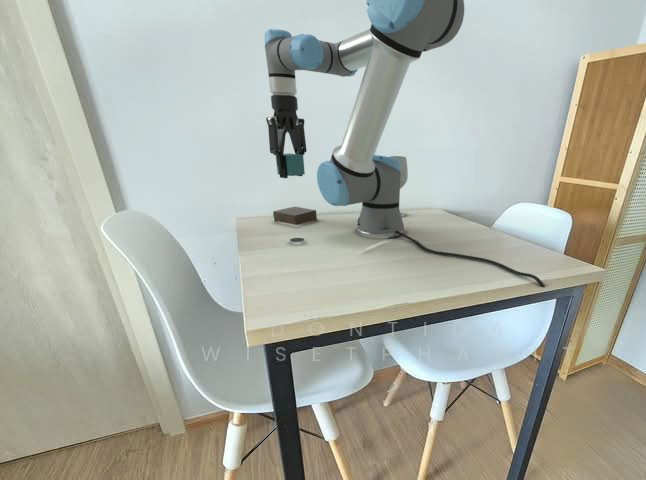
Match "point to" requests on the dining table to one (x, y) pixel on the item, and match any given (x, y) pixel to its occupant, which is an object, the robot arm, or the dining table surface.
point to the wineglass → (402, 172)
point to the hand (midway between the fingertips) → (291, 176)
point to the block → (294, 164)
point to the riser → (295, 215)
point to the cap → (297, 239)
